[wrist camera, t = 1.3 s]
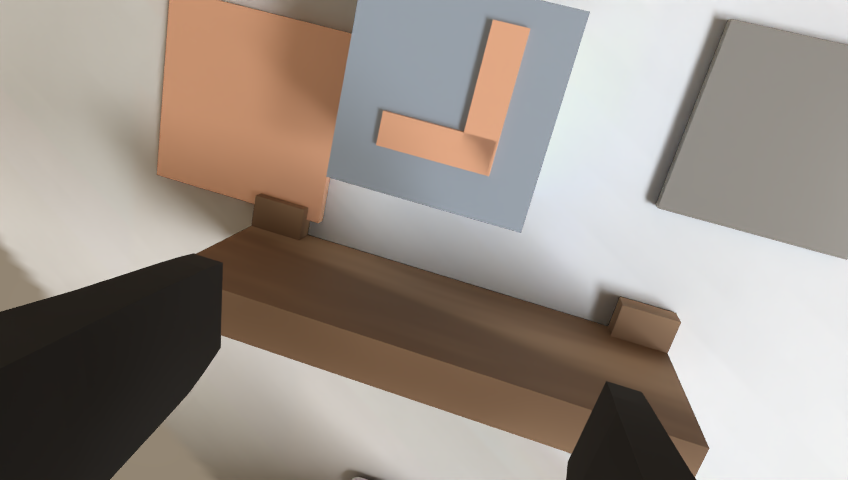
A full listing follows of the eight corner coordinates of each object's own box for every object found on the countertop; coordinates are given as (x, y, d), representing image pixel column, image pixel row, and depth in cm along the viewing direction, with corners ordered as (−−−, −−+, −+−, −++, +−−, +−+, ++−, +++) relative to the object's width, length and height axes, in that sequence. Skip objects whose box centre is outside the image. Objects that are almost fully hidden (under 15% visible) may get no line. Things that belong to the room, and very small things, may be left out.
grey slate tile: (840, 255, 18) (846, 259, 17) (655, 205, 18) (657, 207, 18) (939, 67, 16) (949, 67, 15) (727, 20, 17) (732, 19, 16)
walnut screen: (635, 404, 21) (669, 527, 15) (253, 281, 23) (156, 348, 17) (675, 312, 19) (729, 409, 14) (265, 191, 21) (166, 231, 16)
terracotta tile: (322, 220, 21) (318, 223, 21) (163, 173, 22) (156, 174, 22) (355, 34, 19) (352, 33, 19) (177, -11, 20) (169, -12, 20)
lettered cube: (527, 191, 19) (520, 234, 14) (382, 151, 20) (323, 178, 15) (576, 31, 18) (590, 10, 12) (415, -8, 18) (362, -43, 13)
